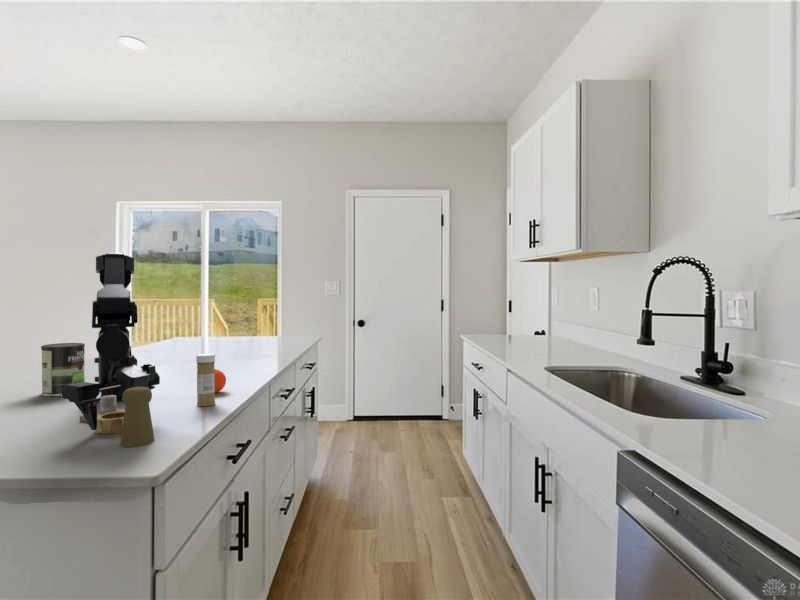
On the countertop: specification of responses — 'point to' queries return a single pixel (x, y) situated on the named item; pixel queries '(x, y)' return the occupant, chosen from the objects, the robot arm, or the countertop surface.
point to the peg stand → (106, 406)
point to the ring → (110, 422)
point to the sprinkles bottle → (205, 379)
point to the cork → (137, 418)
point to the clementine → (219, 380)
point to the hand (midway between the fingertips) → (114, 423)
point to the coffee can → (61, 367)
